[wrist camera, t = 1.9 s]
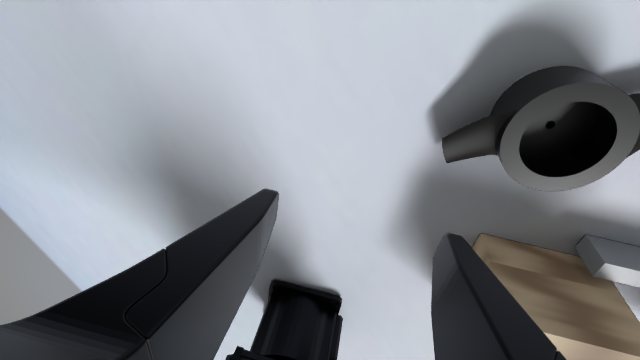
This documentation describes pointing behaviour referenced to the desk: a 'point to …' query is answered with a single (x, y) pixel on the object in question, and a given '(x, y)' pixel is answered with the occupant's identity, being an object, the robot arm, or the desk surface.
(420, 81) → the desk surface
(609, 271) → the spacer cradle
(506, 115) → the black ring with tabs
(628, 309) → the bearing block
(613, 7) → the desk surface
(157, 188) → the desk surface
